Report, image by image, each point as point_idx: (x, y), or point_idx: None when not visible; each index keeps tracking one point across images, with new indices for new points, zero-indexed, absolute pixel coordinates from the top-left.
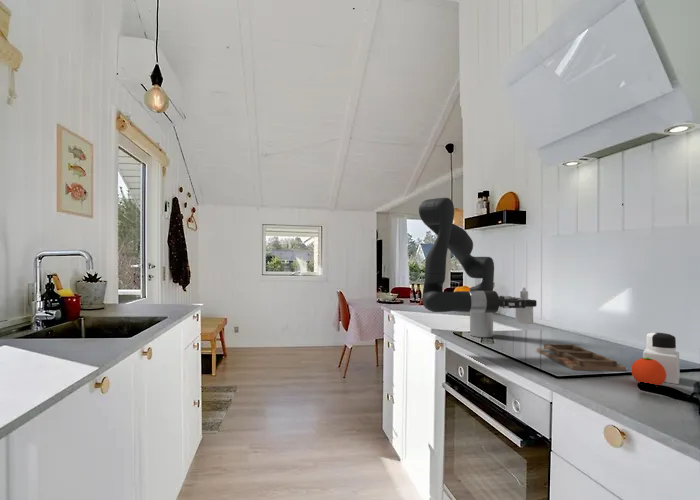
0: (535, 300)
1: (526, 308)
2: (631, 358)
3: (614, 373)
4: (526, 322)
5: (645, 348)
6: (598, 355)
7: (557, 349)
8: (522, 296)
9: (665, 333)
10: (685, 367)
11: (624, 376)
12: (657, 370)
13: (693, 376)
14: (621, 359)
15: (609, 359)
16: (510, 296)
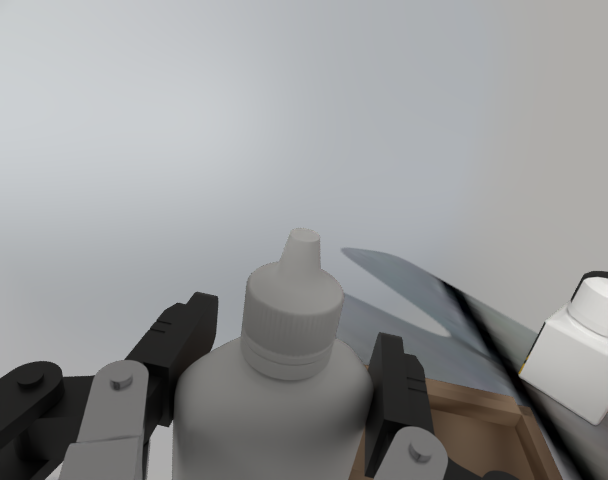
0: (401, 340)
1: (343, 459)
2: (358, 302)
3: (567, 465)
4: None
5: (552, 324)
6: (446, 396)
7: (353, 475)
8: (311, 366)
9: (603, 271)
10: (431, 281)
11: (597, 463)
12: None
13: (509, 318)
14: (370, 326)
15: (504, 406)
16: (137, 457)
